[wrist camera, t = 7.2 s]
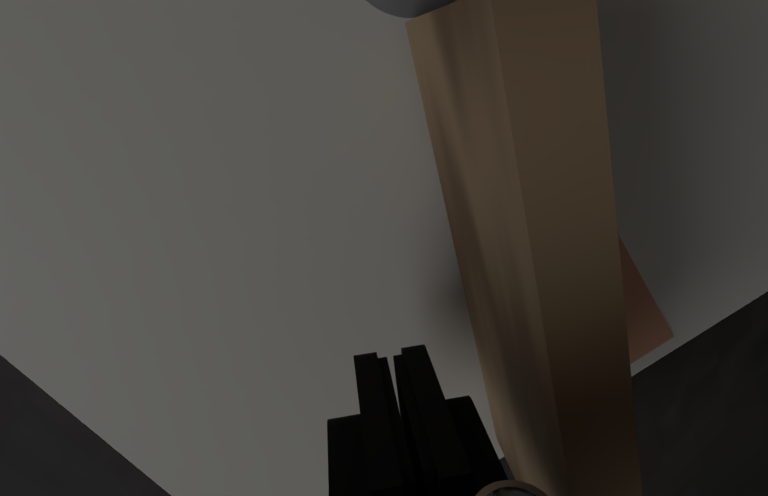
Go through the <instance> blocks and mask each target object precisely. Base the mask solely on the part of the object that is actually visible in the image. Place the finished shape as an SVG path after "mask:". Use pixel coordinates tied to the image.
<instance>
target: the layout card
mask: <svg viewBox="0 0 768 496" xmlns="http://www.w3.org/2000/svg"><path fill="white" fill-rule="evenodd" d="M456 1H459V0H0V355H2V356H3V357H4V358H5V359H6V360H8V361H9V362H10V363H11V364H12V365H14V366H15V367H16V368H17V369H19V370H20V371H21V372H22V373H23V374H25V375H26V376H27V377H28V378H29V379H31V380H32V381H33V382H34V383H36V384H37V385H38V386H39V387H40V388H42V389H43V390H44V391H45V392H46V393H48V394H49V395H50V396H51V397H52V398H54V399H55V400H56V401H57V402H59V403H60V404H61V405H62V406H63V407H65V408H66V409H67V410H68V411H69V412H71V413H72V414H73V415H74V416H76V417H77V418H78V419H79V420H80V421H82V422H83V423H84V424H85V425H86V426H88V427H89V428H90V429H91V430H92V431H94V432H95V433H96V434H97V435H99V436H100V437H101V438H102V439H103V440H105V441H106V442H107V443H108V444H109V445H111V446H112V447H113V448H114V449H115V450H117V451H118V452H119V453H120V454H122V455H123V456H124V457H125V458H126V459H128V460H129V461H130V462H131V463H132V464H134V465H135V466H136V467H137V468H139V469H140V470H141V471H142V472H143V473H145V474H146V475H147V476H148V477H149V478H151V479H152V480H153V481H154V482H155V483H157V484H158V485H159V486H160V487H162V488H163V489H164V490H165V491H166V492H168V493H169V494H170V495H171V496H329V483H328V442H327V420H328V419H333V418H339V417H344V416H350V415H356V414H360V408H359V399H358V391H357V382H356V374H355V365H354V357H353V356H354V355H360V354H367V353H373V352H377V356H378V358H382V357H387V360H388V364H389V368H390V373H391V377H392V381H393V386H394V390H395V395H396V399H397V403H398V408H399V401H398V393H397V385H396V377H395V369H394V361H393V356H394V355H401V348H404V347H410V346H416V345H422V344H424V345H425V346H426V349H427V351H428V354H429V357H430V359H431V362H432V365H433V368H434V370H435V373H436V376H437V378H438V381H439V384H440V386H441V389H442V392H443V394H444V397H445V399H450V398H456V397H462V396H468V395H469V396H470V397H471V399H472V401H473V403H474V405H475V407H476V409H477V412H478V414H479V416H480V418H481V420H482V423H483V425H484V427H485V429H486V431H487V434H488V436H489V438H490V440H491V443H492V445H493V447H494V449H495V451H496V454H497V456H498V458H499V459H501V458H502V457H504V454H503V451H502V449H501V447H500V445H499V443H498V441H497V439H496V434H495V430H494V425H493V421H492V416H491V412H490V407H489V402H488V398H487V393H486V389H485V384H484V380H483V375H482V371H481V366H480V362H479V357H478V352H477V348H476V343H475V339H474V334H473V330H472V325H471V321H470V316H469V312H468V307H467V302H466V298H465V293H464V289H463V284H462V280H461V275H460V271H459V266H458V262H457V257H456V252H455V248H454V243H453V239H452V234H451V230H450V225H449V221H448V216H447V211H446V207H445V202H444V198H443V193H442V189H441V184H440V180H439V175H438V171H437V166H436V161H435V157H434V152H433V148H432V143H431V139H430V134H429V130H428V125H427V121H426V116H425V111H424V107H423V102H422V98H421V93H420V89H419V84H418V80H417V75H416V71H415V66H414V61H413V57H412V52H411V48H410V43H409V39H408V34H407V30H406V25H405V22H406V21H408V20H411V19H413V18H416V17H418V16H421V15H423V14H426V13H428V12H431V11H433V10H436V9H438V8H441V7H443V6H446V5H449V4H451V3H454V2H456ZM596 2H597V13H598V24H599V35H600V45H601V56H602V67H603V78H604V88H605V99H606V110H607V121H608V131H609V142H610V153H611V164H612V174H613V185H614V196H615V207H616V217H617V228H618V239H619V249H620V260H621V271H622V282H623V292H624V303H625V314H626V325H627V335H628V346H629V357H630V368H631V377H632V376H633V375H635V374H636V373H638V372H640V371H641V370H643V369H644V368H646V367H648V366H649V365H651V364H652V363H654V362H656V361H657V360H659V359H660V358H662V357H664V356H665V355H667V354H668V353H670V352H672V351H673V350H675V349H676V348H678V347H680V346H681V345H683V344H684V343H686V342H688V341H689V340H691V339H692V338H694V337H696V336H697V335H699V334H700V333H702V332H703V331H705V330H707V329H708V328H710V327H711V326H713V325H715V324H716V323H718V322H719V321H721V320H723V319H724V318H726V317H727V316H729V315H731V314H732V313H734V312H735V311H737V310H739V309H740V308H742V307H743V306H745V305H747V304H748V303H750V302H751V301H753V300H755V299H756V298H758V297H759V296H761V295H763V294H764V293H766V292H767V291H768V0H596ZM399 412H400V409H399Z"/></svg>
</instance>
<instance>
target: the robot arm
mask: <svg viewBox="0 0 768 496" xmlns="http://www.w3.org/2000/svg"><path fill="white" fill-rule="evenodd" d="M353 357H354V365H355V374H356V382H357V391H358V399H359V408H360V414H356V415H350V416H344V417H339V418H333V419H328V420H327V442H328V483H329V496H547V495H546V494H545V493H544V492H543V491H542V490H540V489H539V488H537V487H535V486H533V485H532V484H528V483H525V482H522V481H516V480H508V478H507V476H506V474H505V471H504V469H503V467H502V465H501V462H500V460H499V458H498V456H497V454H496V451H495V449H494V447H493V445H492V443H491V440H490V438H489V436H488V434H487V431H486V429H485V427H484V425H483V423H482V420H481V418H480V416H479V414H478V412H477V409H476V407H475V405H474V403H473V401H472V399H471V397H470V396H469V395H468V396H462V397H456V398H450V399H445V397H444V394H443V392H442V389H441V386H440V384H439V381H438V378H437V376H436V373H435V370H434V368H433V365H432V362H431V359H430V357H429V354H428V351H427V349H426V346H425V345H424V344H422V345H416V346H410V347H404V348H401V355H394V356H393V361H394V369H395V377H396V385H397V393H398V401H399V408H398V403H397V399H396V395H395V390H394V386H393V381H392V377H391V373H390V368H389V364H388V360H387V357H382V358H378V356H377V352H373V353H367V354H360V355H354V356H353ZM399 409H400V412H399Z"/></svg>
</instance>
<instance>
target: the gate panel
mask: <svg viewBox="0 0 768 496" xmlns="http://www.w3.org/2000/svg"><path fill="white" fill-rule="evenodd" d="M405 25H406V30H407V34H408V39H409V43H410V48H411V52H412V57H413V61H414V66H415V71H416V75H417V80H418V84H419V89H420V93H421V98H422V102H423V107H424V111H425V116H426V121H427V125H428V130H429V134H430V139H431V143H432V148H433V152H434V157H435V161H436V166H437V171H438V175H439V180H440V184H441V189H442V193H443V198H444V202H445V207H446V211H447V216H448V221H449V225H450V230H451V234H452V239H453V243H454V248H455V252H456V257H457V262H458V266H459V271H460V275H461V280H462V284H463V289H464V293H465V298H466V302H467V307H468V312H469V316H470V321H471V325H472V330H473V334H474V339H475V343H476V348H477V352H478V357H479V362H480V366H481V371H482V375H483V380H484V384H485V389H486V393H487V398H488V402H489V407H490V412H491V416H492V421H493V425H494V430H495V434H496V439H497V441H498V443H499V445H500V447H501V449H502V451H503V454H504V456H505V458H506V460H507V462H508V464H509V466H510V469H511V471H512V473H513V475H514V477H515V479H516V481H522V482H525V483H528V484H532V485H533V486H535V487H537V488H539V489H540V490H542V491H543V492H544V493H545V494H546V495H547V496H642V486H641V475H640V464H639V454H638V443H637V432H636V421H635V411H634V400H633V389H632V378H631V368H630V357H629V346H628V335H627V325H626V314H625V303H624V292H623V282H622V271H621V260H620V249H619V239H618V228H617V217H616V207H615V196H614V185H613V174H612V164H611V153H610V142H609V131H608V121H607V110H606V99H605V88H604V78H603V67H602V56H601V45H600V35H599V24H598V13H597V2H596V0H459V1H456V2H454V3H451V4H449V5H446V6H443V7H441V8H438V9H436V10H433V11H431V12H428V13H426V14H423V15H421V16H418V17H416V18H413V19H411V20H408V21H406V22H405Z"/></svg>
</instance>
